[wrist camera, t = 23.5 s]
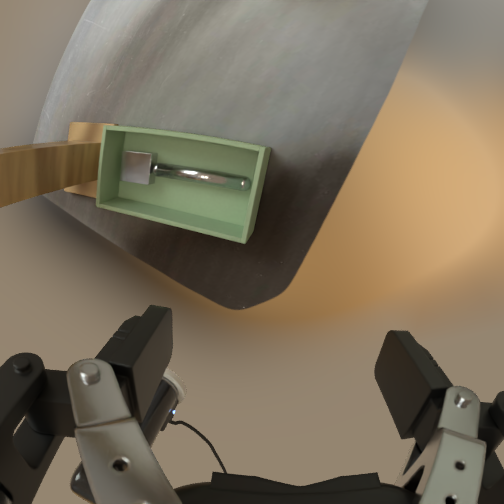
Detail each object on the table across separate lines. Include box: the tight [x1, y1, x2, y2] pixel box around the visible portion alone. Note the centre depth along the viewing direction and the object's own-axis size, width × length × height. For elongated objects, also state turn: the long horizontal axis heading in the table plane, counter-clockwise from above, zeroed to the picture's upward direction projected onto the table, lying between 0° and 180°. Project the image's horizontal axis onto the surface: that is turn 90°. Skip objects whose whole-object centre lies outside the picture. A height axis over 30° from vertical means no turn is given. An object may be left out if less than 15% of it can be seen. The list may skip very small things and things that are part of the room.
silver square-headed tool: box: [120, 150, 251, 191], centre depth 38 cm, size 19×4×2 cm, turn 80°
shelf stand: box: [0, 122, 118, 208], centre depth 28 cm, size 12×12×30 cm
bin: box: [96, 125, 271, 244], centre depth 37 cm, size 22×12×6 cm, turn 78°
